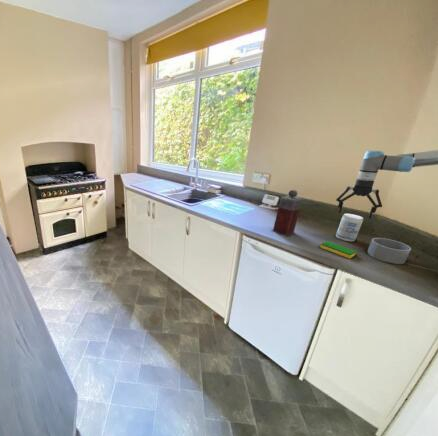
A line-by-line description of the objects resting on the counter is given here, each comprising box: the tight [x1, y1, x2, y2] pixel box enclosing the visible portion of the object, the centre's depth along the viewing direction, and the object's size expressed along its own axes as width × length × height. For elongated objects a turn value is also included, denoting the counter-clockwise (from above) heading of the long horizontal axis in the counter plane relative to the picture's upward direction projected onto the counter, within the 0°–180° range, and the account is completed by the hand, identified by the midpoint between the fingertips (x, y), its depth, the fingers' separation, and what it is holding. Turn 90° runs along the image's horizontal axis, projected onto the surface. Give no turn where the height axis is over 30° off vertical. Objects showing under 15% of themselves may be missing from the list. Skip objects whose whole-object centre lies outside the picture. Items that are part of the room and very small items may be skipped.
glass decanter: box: [272, 189, 304, 237], centre depth 147 cm, size 9×11×28 cm
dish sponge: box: [320, 240, 357, 259], centre depth 128 cm, size 7×14×2 cm, turn 32°
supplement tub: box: [335, 213, 364, 242], centre depth 141 cm, size 10×10×15 cm
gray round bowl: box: [367, 237, 412, 265], centre depth 122 cm, size 15×15×8 cm
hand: (353, 215), depth 138 cm, fingers open, 13 cm apart
